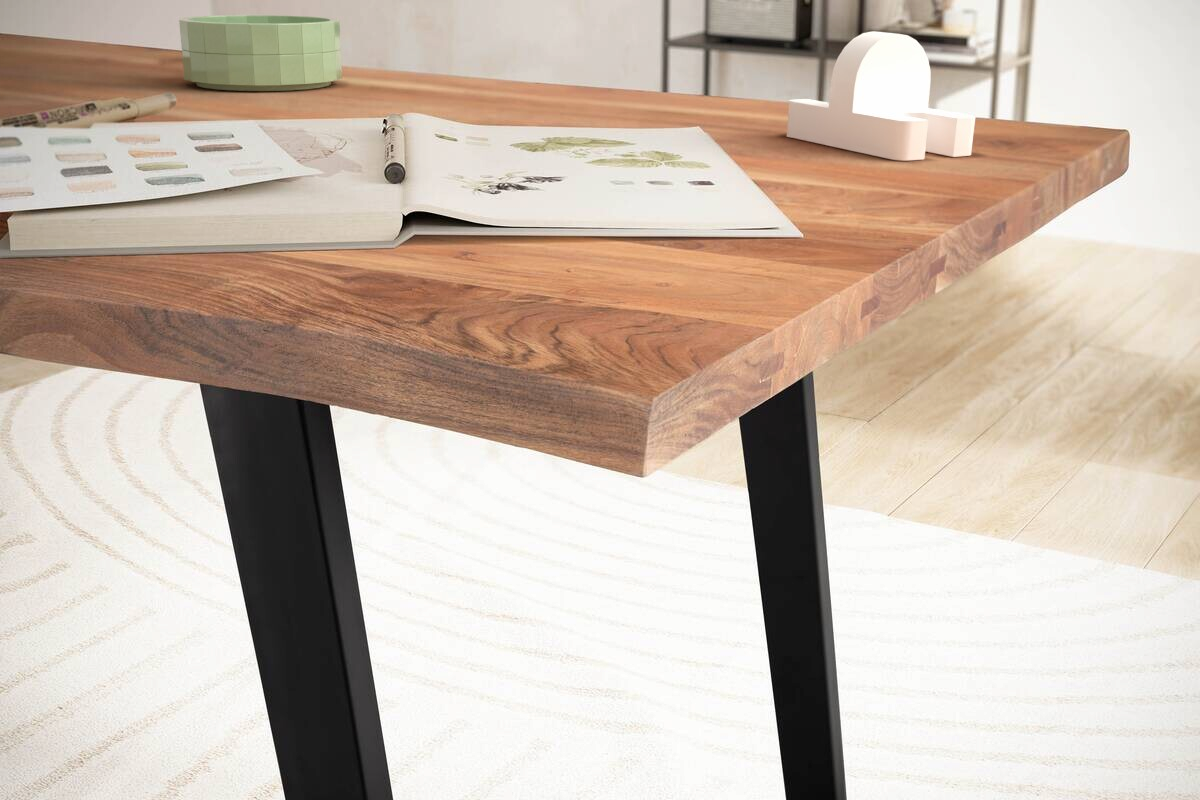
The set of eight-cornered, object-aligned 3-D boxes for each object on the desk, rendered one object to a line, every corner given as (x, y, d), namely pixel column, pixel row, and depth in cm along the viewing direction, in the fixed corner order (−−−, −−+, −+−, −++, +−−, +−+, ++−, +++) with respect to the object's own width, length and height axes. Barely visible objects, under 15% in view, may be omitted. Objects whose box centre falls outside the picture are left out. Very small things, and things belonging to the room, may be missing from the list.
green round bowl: (214, 95, 113) (209, 25, 111) (165, 80, 125) (159, 16, 123) (366, 88, 121) (363, 22, 119) (306, 74, 133) (303, 14, 131)
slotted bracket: (976, 155, 88) (990, 38, 86) (899, 161, 85) (911, 39, 82) (854, 130, 99) (862, 26, 96) (782, 135, 96) (789, 27, 93)
